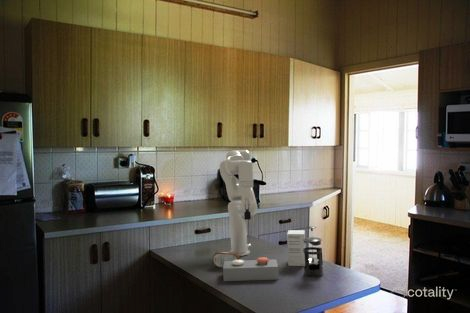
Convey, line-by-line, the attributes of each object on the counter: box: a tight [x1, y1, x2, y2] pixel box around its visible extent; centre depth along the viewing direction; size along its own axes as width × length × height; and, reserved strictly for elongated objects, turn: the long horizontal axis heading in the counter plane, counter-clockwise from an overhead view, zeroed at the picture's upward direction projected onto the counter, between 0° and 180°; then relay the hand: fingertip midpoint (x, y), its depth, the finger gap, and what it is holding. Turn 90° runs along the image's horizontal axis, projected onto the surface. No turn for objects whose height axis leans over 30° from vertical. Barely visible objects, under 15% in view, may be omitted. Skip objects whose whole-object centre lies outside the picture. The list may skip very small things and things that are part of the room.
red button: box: [256, 256, 269, 265], centre depth 189 cm, size 6×6×5 cm
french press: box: [303, 226, 324, 278], centre depth 188 cm, size 12×9×23 cm
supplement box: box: [286, 229, 307, 267], centre depth 206 cm, size 10×9×17 cm
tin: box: [212, 250, 242, 269], centre depth 204 cm, size 15×3×8 cm, turn 71°
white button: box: [232, 259, 244, 266], centre depth 189 cm, size 6×6×5 cm
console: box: [222, 258, 280, 282], centre depth 189 cm, size 26×12×6 cm, turn 88°
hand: (247, 219), depth 204 cm, fingers closed
